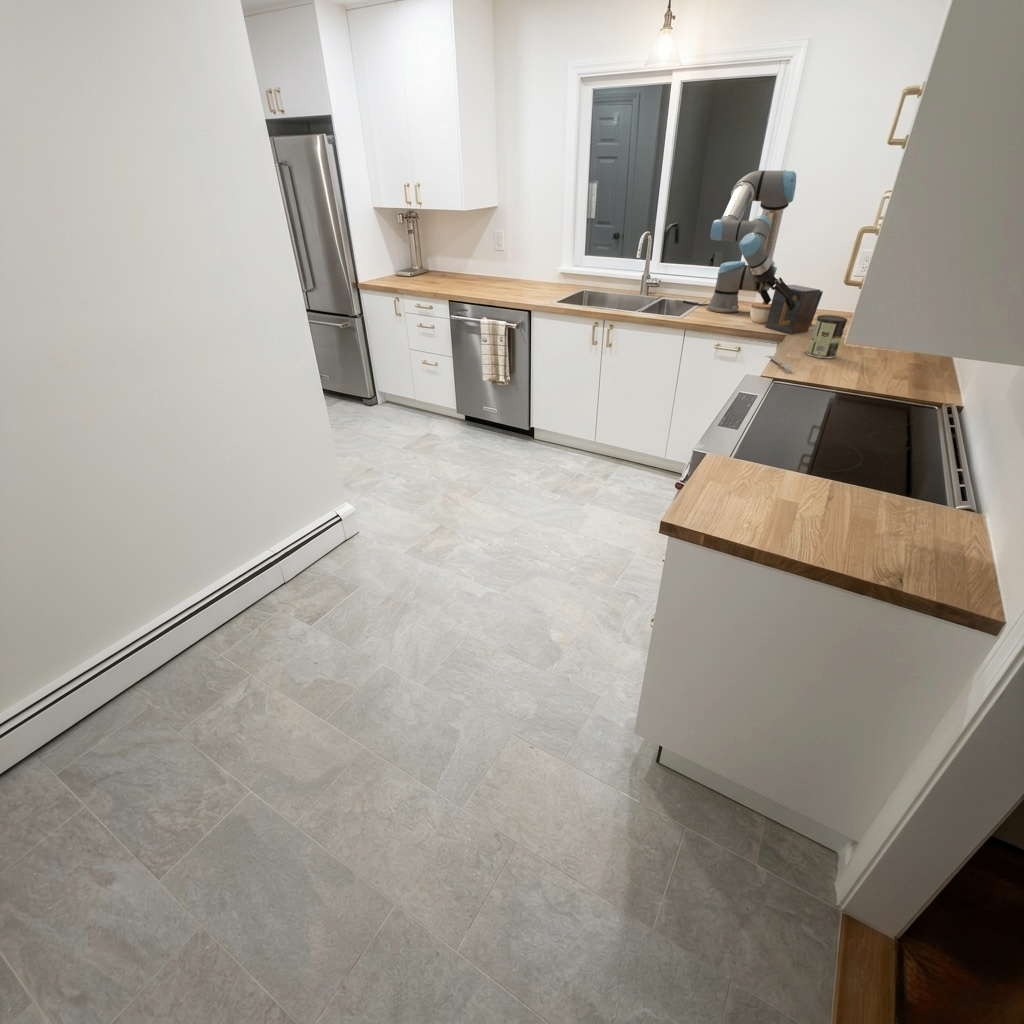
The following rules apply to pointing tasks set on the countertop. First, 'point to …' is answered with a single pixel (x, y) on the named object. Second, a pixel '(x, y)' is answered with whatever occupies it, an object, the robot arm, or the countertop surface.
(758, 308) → the trinket box
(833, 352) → the coffee can
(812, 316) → the brown tall block
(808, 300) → the cupboard
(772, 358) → the fork
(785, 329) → the cupboard door
